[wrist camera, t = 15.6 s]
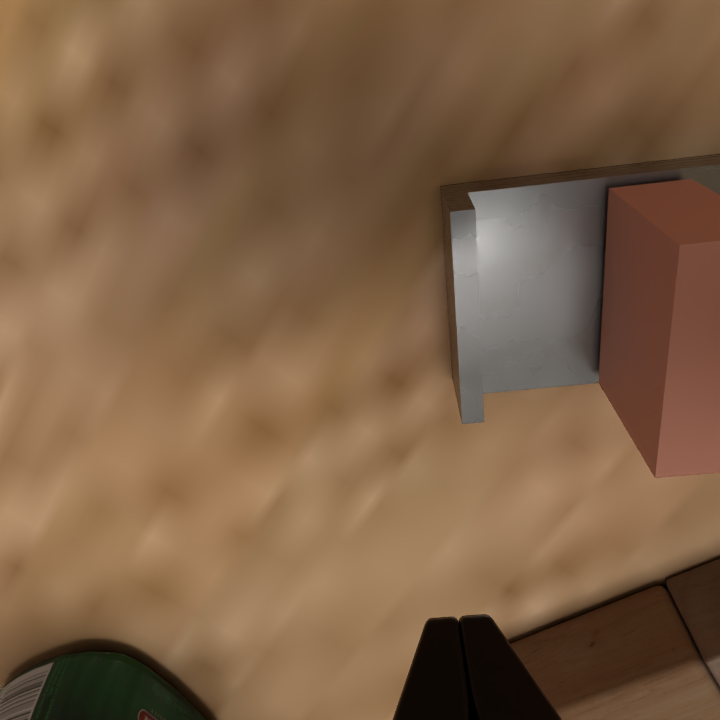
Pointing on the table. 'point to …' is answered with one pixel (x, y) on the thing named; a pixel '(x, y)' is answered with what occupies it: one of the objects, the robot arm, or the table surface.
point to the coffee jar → (92, 691)
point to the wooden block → (636, 655)
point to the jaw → (664, 323)
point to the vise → (535, 274)
